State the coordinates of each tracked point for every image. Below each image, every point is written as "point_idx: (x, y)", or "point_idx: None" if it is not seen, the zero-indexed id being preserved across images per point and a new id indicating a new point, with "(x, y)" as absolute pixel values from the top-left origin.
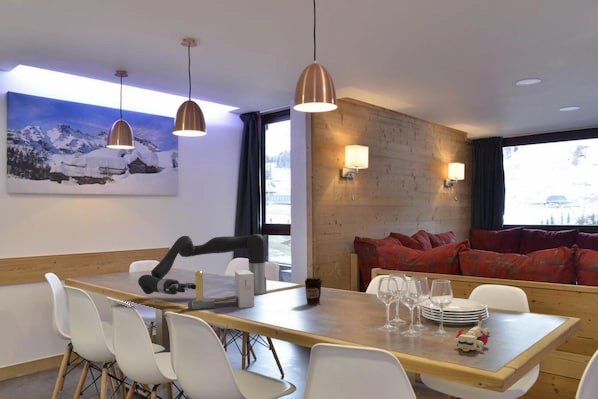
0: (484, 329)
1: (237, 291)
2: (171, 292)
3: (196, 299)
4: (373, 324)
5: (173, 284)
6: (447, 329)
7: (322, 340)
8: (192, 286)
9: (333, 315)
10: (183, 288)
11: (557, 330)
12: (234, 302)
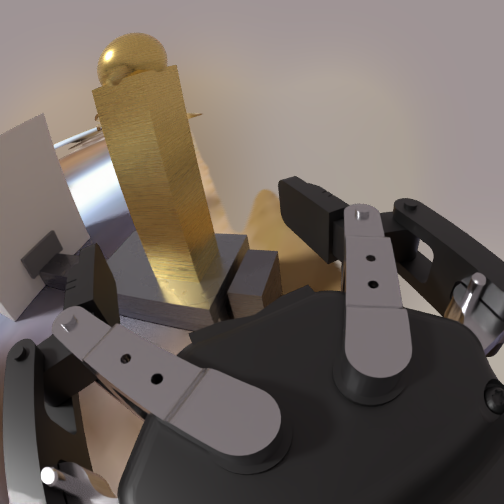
0: (99, 124)
1: (26, 222)
2: (425, 264)
3: (215, 239)
4: (104, 141)
5: (435, 478)
6: (93, 135)
7: (191, 116)
8: (103, 303)
9: (79, 163)
10: (293, 178)
11: (69, 137)
12: (64, 255)
